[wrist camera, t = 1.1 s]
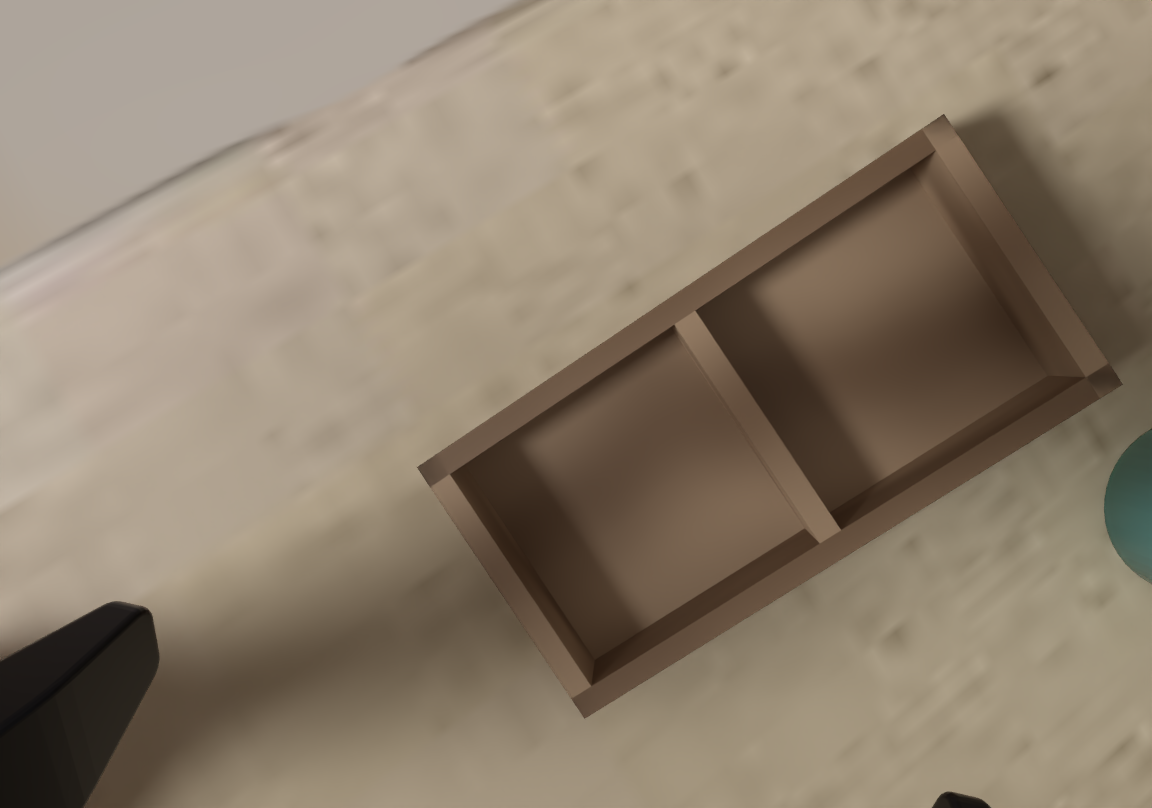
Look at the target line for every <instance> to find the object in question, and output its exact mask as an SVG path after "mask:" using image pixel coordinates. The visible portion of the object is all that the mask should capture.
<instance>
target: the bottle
mask: <svg viewBox="0 0 1152 808" xmlns="http://www.w3.org/2000/svg"><path fill="white" fill-rule="evenodd" d="M1104 513H1105V522H1106V526H1107V531H1108V534H1109V537H1110V539H1111V542H1112V544H1113V546H1114V548H1115V549H1116V551H1117V553H1118V555H1119V556H1120V557H1121V558H1122V560H1123V561H1124V562H1125V564H1126V565H1127V566H1128V567H1129V568H1130V569H1131V570H1132V571H1133V572H1135V573H1136V574H1137V575H1139V576H1140V577H1141V578H1143V579H1144V580H1146V581H1148V582H1149V583H1151V584H1152V429H1151V430H1149V431H1148V432H1146V433H1145V434H1143V435H1142V436H1140V437H1139V438H1138V439H1137V440H1136V441H1135V442H1134V443H1132V444H1131V445H1130V446H1129V447H1128V449H1127V450H1126V451H1125V452H1124V453H1123V454H1122V456H1121V457H1120V459H1119V460H1118V462H1117V464H1116V465H1115V467H1114V469H1113V471H1112V473H1111V476H1110V478H1109V482H1108V485H1107V488H1106V494H1105V503H1104Z"/></svg>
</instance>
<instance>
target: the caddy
mask: <svg viewBox="0 0 1152 808" xmlns="http://www.w3.org/2000/svg"><path fill="white" fill-rule="evenodd" d="M1121 385H1123V384H1122V383H1121V381H1120V379H1119V378H1118V376H1117V375H1116V373H1115V372H1114V370H1113V369H1112V367H1111V366H1110V364H1109V363H1108V361H1107V360H1106V358H1105V357H1104V355H1103V354H1102V352H1101V351H1100V349H1099V348H1098V346H1097V345H1096V343H1095V342H1094V340H1093V339H1092V337H1091V336H1090V334H1089V333H1088V331H1087V330H1086V328H1085V327H1084V325H1083V324H1082V322H1081V320H1080V319H1079V317H1078V316H1077V314H1076V313H1075V311H1074V310H1073V308H1072V307H1071V305H1070V304H1069V302H1068V301H1067V299H1066V298H1065V296H1064V295H1063V293H1062V292H1061V290H1060V289H1059V287H1058V286H1057V284H1056V283H1055V281H1054V280H1053V278H1052V277H1051V275H1050V274H1049V272H1048V271H1047V269H1046V268H1045V266H1044V264H1043V263H1042V261H1041V260H1040V258H1039V257H1038V255H1037V254H1036V252H1035V251H1034V249H1033V248H1032V246H1031V245H1030V243H1029V242H1028V240H1027V239H1026V237H1025V236H1024V234H1023V233H1022V231H1021V230H1020V228H1019V227H1018V225H1017V224H1016V222H1015V221H1014V219H1013V218H1012V216H1011V215H1010V213H1009V212H1008V210H1007V208H1006V207H1005V205H1004V204H1003V202H1002V201H1001V199H1000V198H999V196H998V195H997V193H996V192H995V190H994V189H993V187H992V186H991V184H990V183H989V181H988V180H987V178H986V177H985V175H984V174H983V172H982V171H981V169H980V168H979V166H978V165H977V163H976V162H975V160H974V159H973V157H972V156H971V154H970V153H969V151H968V149H967V148H966V146H965V145H964V143H963V142H962V140H961V139H960V137H959V136H958V134H957V133H956V131H955V130H954V128H953V127H952V125H951V124H950V122H949V121H948V119H947V118H946V116H945V115H944V114H943V115H942V116H940V117H939V118H937V119H936V120H934V121H933V122H931V123H930V124H928V125H927V126H925V127H924V128H922V129H921V130H919V131H918V132H916V133H915V134H913V135H912V136H910V137H909V138H907V139H906V140H904V141H903V142H901V143H900V144H898V145H897V146H895V147H894V148H892V149H891V150H890V151H888V152H887V153H885V154H884V155H882V156H881V157H879V158H878V159H876V160H875V161H873V162H872V163H870V164H869V165H867V166H866V167H864V168H863V169H861V170H860V171H858V172H857V173H855V174H854V175H852V176H851V177H849V178H848V179H846V180H845V181H843V182H842V183H840V184H839V185H837V186H836V187H834V188H833V189H831V190H830V191H828V192H827V193H825V194H824V195H822V196H821V197H819V198H818V199H816V200H815V201H813V202H812V203H810V204H809V205H807V206H806V207H805V208H803V209H802V210H800V211H799V212H797V213H796V214H794V215H793V216H791V217H790V218H788V219H787V220H785V221H784V222H782V223H781V224H779V225H778V226H776V227H775V228H773V229H772V230H770V231H769V232H767V233H766V234H764V235H763V236H761V237H760V238H758V239H757V240H755V241H754V242H752V243H751V244H749V245H748V246H746V247H745V248H743V249H742V250H740V251H739V252H737V253H736V254H734V255H733V256H731V257H730V258H728V259H727V260H725V261H724V262H722V263H721V264H720V265H718V266H717V267H715V268H714V269H712V270H711V271H709V272H708V273H706V274H705V275H703V276H702V277H700V278H699V279H697V280H696V281H694V282H693V283H691V284H690V285H688V286H687V287H685V288H684V289H682V290H681V291H679V292H678V293H676V294H675V295H673V296H672V297H670V298H669V299H667V300H666V301H664V302H663V303H661V304H660V305H658V306H657V307H655V308H654V309H652V310H651V311H649V312H648V313H646V314H645V315H643V316H642V317H640V318H639V319H637V320H636V321H635V322H633V323H632V324H630V325H629V326H627V327H626V328H624V329H623V330H621V331H620V332H618V333H617V334H615V335H614V336H612V337H611V338H609V339H608V340H606V341H605V342H603V343H602V344H600V345H599V346H597V347H596V348H594V349H593V350H591V351H590V352H588V353H587V354H585V355H584V356H582V357H581V358H579V359H578V360H576V361H575V362H573V363H572V364H570V365H569V366H567V367H566V368H564V369H563V370H561V371H560V372H558V373H557V374H555V375H554V376H552V377H551V378H550V379H548V380H547V381H545V382H544V383H542V384H541V385H539V386H538V387H536V388H535V389H533V390H532V391H530V392H529V393H527V394H526V395H524V396H523V397H521V398H520V399H518V400H517V401H515V402H514V403H512V404H511V405H509V406H508V407H506V408H505V409H503V410H502V411H500V412H499V413H497V414H496V415H494V416H493V417H491V418H490V419H488V420H487V421H485V422H484V423H482V424H481V425H479V426H478V427H476V428H475V429H473V430H472V431H470V432H469V433H468V434H466V435H465V436H463V437H462V438H460V439H459V440H457V441H456V442H454V443H453V444H451V445H450V446H448V447H447V448H445V449H444V450H442V451H441V452H439V453H438V454H436V455H435V456H433V457H432V458H430V459H429V460H427V461H426V462H424V463H423V464H421V465H420V466H418V467H417V468H418V470H419V471H420V473H421V474H422V476H423V477H424V479H425V480H426V482H427V483H428V485H429V486H430V488H431V489H432V491H433V492H434V494H435V495H436V497H437V498H438V500H439V501H440V503H441V504H442V506H443V507H444V509H445V510H446V512H447V513H448V515H449V516H450V518H451V519H452V521H453V522H454V524H455V525H456V527H457V528H458V530H459V531H460V533H461V534H462V536H463V537H464V539H465V540H466V542H467V543H468V545H469V546H470V548H471V549H472V551H473V552H474V554H475V555H476V557H477V558H478V560H479V561H480V563H481V564H482V566H483V567H484V569H485V570H486V572H487V573H488V575H489V576H490V578H491V579H492V581H493V582H494V584H495V585H496V587H497V588H498V590H499V591H500V593H501V594H502V596H503V597H504V599H505V600H506V602H507V603H508V605H509V606H510V608H511V609H512V611H513V612H514V614H515V615H516V617H517V618H518V620H519V621H520V623H521V624H522V625H523V627H524V628H525V630H526V631H527V633H528V634H529V636H530V637H531V639H532V640H533V642H534V643H535V645H536V646H537V648H538V649H539V651H540V652H541V654H542V655H543V657H544V658H545V660H546V661H547V663H548V664H549V666H550V667H551V669H552V670H553V672H554V673H555V675H556V676H557V678H558V679H559V681H560V682H561V684H562V685H563V687H564V688H565V690H566V691H567V693H568V694H569V696H570V697H571V699H572V700H573V702H574V703H575V705H576V706H577V708H578V709H579V711H580V712H581V714H582V715H583V717H584V718H586V717H588V716H590V715H591V714H593V713H594V712H596V711H598V710H599V709H601V708H602V707H604V706H606V705H607V704H609V703H610V702H612V701H614V700H615V699H617V698H619V697H620V696H622V695H623V694H625V693H627V692H628V691H630V690H631V689H633V688H635V687H636V686H638V685H639V684H641V683H643V682H644V681H646V680H648V679H649V678H651V677H652V676H654V675H656V674H657V673H659V672H660V671H662V670H664V669H665V668H667V667H668V666H670V665H672V664H673V663H675V662H677V661H678V660H680V659H681V658H683V657H685V656H686V655H688V654H689V653H691V652H693V651H694V650H696V649H697V648H699V647H701V646H702V645H704V644H705V643H707V642H709V641H710V640H712V639H714V638H715V637H717V636H718V635H720V634H722V633H723V632H725V631H726V630H728V629H730V628H731V627H733V626H734V625H736V624H738V623H739V622H741V621H743V620H744V619H746V618H747V617H749V616H751V615H752V614H754V613H755V612H757V611H759V610H760V609H762V608H763V607H765V606H767V605H768V604H770V603H772V602H773V601H775V600H776V599H778V598H780V597H781V596H783V595H784V594H786V593H788V592H789V591H791V590H792V589H794V588H796V587H797V586H799V585H801V584H802V583H804V582H805V581H807V580H809V579H810V578H812V577H813V576H815V575H817V574H818V573H820V572H821V571H823V570H825V569H826V568H828V567H830V566H831V565H833V564H834V563H836V562H838V561H839V560H841V559H842V558H844V557H846V556H847V555H849V554H850V553H852V552H854V551H855V550H857V549H859V548H860V547H862V546H863V545H865V544H867V543H868V542H870V541H871V540H873V539H875V538H876V537H878V536H879V535H881V534H883V533H884V532H886V531H887V530H889V529H891V528H892V527H894V526H896V525H897V524H899V523H900V522H902V521H904V520H905V519H907V518H908V517H910V516H912V515H913V514H915V513H916V512H918V511H920V510H921V509H923V508H925V507H926V506H928V505H929V504H931V503H933V502H934V501H936V500H937V499H939V498H941V497H942V496H944V495H945V494H947V493H949V492H950V491H952V490H954V489H955V488H957V487H958V486H960V485H962V484H963V483H965V482H966V481H968V480H970V479H971V478H973V477H974V476H976V475H978V474H979V473H981V472H983V471H984V470H986V469H987V468H989V467H991V466H992V465H994V464H995V463H997V462H999V461H1000V460H1002V459H1003V458H1005V457H1007V456H1008V455H1010V454H1012V453H1013V452H1015V451H1016V450H1018V449H1020V448H1021V447H1023V446H1024V445H1026V444H1028V443H1029V442H1031V441H1032V440H1034V439H1036V438H1037V437H1039V436H1040V435H1042V434H1044V433H1045V432H1047V431H1049V430H1050V429H1052V428H1053V427H1055V426H1057V425H1058V424H1060V423H1061V422H1063V421H1065V420H1066V419H1068V418H1069V417H1071V416H1073V415H1074V414H1076V413H1078V412H1079V411H1081V410H1082V409H1084V408H1086V407H1087V406H1089V405H1090V404H1092V403H1094V402H1095V401H1097V400H1098V399H1100V398H1102V397H1103V396H1105V395H1107V394H1108V393H1110V392H1111V391H1113V390H1115V389H1116V388H1118V387H1119V386H1121Z"/></svg>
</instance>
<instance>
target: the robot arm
mask: <svg viewBox="0 0 1152 808" xmlns="http://www.w3.org/2000/svg"><path fill="white" fill-rule="evenodd" d="M158 664H159V650H158V644H157V639H156V633H155V628H154V622H153V617H152V613H151V612H150V611H149V610H148V609H147V608H146V607H143V606H139V605H134V604H130V603H125V602H121V601H114V602H110V603H107V604H105V605H103V606H101V607H99V608H97V609H95V610H93V611H91V612H89V613H88V614H86V615H84V616H82V617H80V618H78V619H76V620H75V621H73V622H71V623H69V624H67V625H65V626H63V627H61V628H60V629H58V630H56V631H54V632H52V633H50V634H48V635H47V636H45V637H43V638H41V639H39V640H37V641H35V642H34V643H32V644H30V645H28V646H26V647H24V648H22V649H20V650H19V651H17V652H15V653H13V654H11V655H9V656H7V657H6V658H4V659H2V660H0V808H83V807H84V806H85V804H86V802H87V801H88V799H89V797H90V795H91V794H92V792H93V790H94V788H95V787H96V785H97V783H98V781H99V779H100V778H101V776H102V774H103V772H104V770H105V768H106V766H107V764H108V763H109V761H110V759H111V757H112V755H113V753H114V751H115V750H116V748H117V746H118V744H119V742H120V740H121V738H122V736H123V735H124V733H125V731H126V729H127V727H128V725H129V723H130V721H131V720H132V718H133V716H134V714H135V712H136V710H137V708H138V707H139V705H140V703H141V701H142V699H143V697H144V695H145V693H146V692H147V690H148V688H149V686H150V684H151V682H152V680H153V678H154V676H155V674H156V671H157V668H158ZM932 808H991V807H990V806H989V805H988V804H987V803H986V802H984V801H983V800H981V799H979V798H976V797H972V796H968V795H963V794H959V793H955V792H945V793H943V794H941V795H940V796H939V798H938V799H937V801H936V802H935V804H934V805H933V807H932Z"/></svg>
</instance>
